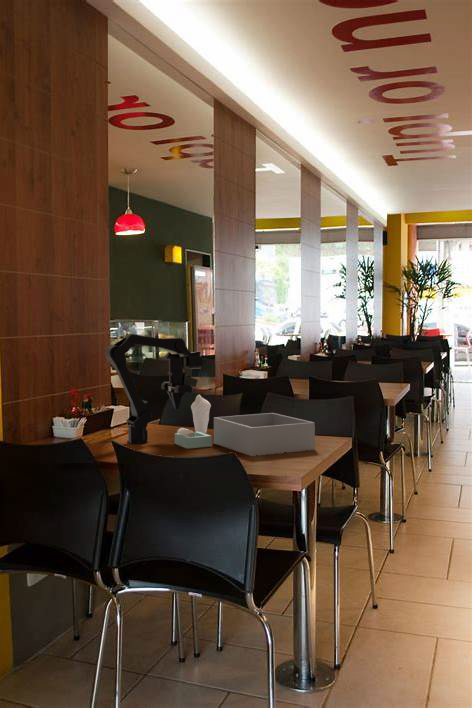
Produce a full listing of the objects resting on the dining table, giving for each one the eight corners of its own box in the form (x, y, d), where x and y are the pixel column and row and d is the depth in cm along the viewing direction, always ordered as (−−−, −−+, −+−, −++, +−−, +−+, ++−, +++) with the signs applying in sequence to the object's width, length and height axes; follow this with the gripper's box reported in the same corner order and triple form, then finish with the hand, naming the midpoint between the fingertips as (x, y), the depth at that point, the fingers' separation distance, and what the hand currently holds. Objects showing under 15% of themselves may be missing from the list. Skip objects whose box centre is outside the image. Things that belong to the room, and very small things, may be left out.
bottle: (179, 441, 279) (189, 444, 272) (174, 431, 278) (184, 434, 271) (189, 435, 281) (198, 438, 274) (184, 425, 280) (193, 428, 273)
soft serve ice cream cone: (212, 431, 305) (212, 393, 305) (209, 434, 297) (209, 395, 296) (192, 431, 306) (192, 393, 305) (189, 434, 298) (189, 395, 297)
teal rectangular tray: (187, 448, 266) (187, 438, 265) (174, 443, 276) (174, 433, 276) (211, 446, 270) (211, 435, 270) (198, 441, 281) (198, 431, 281)
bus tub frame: (251, 456, 250) (251, 428, 250) (213, 443, 277) (213, 417, 276) (314, 450, 262) (314, 422, 261) (272, 437, 289) (272, 412, 288)
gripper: (205, 370, 281) (205, 410, 282) (185, 367, 298) (186, 405, 298) (178, 371, 276) (178, 412, 277) (160, 368, 292) (160, 406, 293)
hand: (176, 408), depth 286 cm, fingers closed
